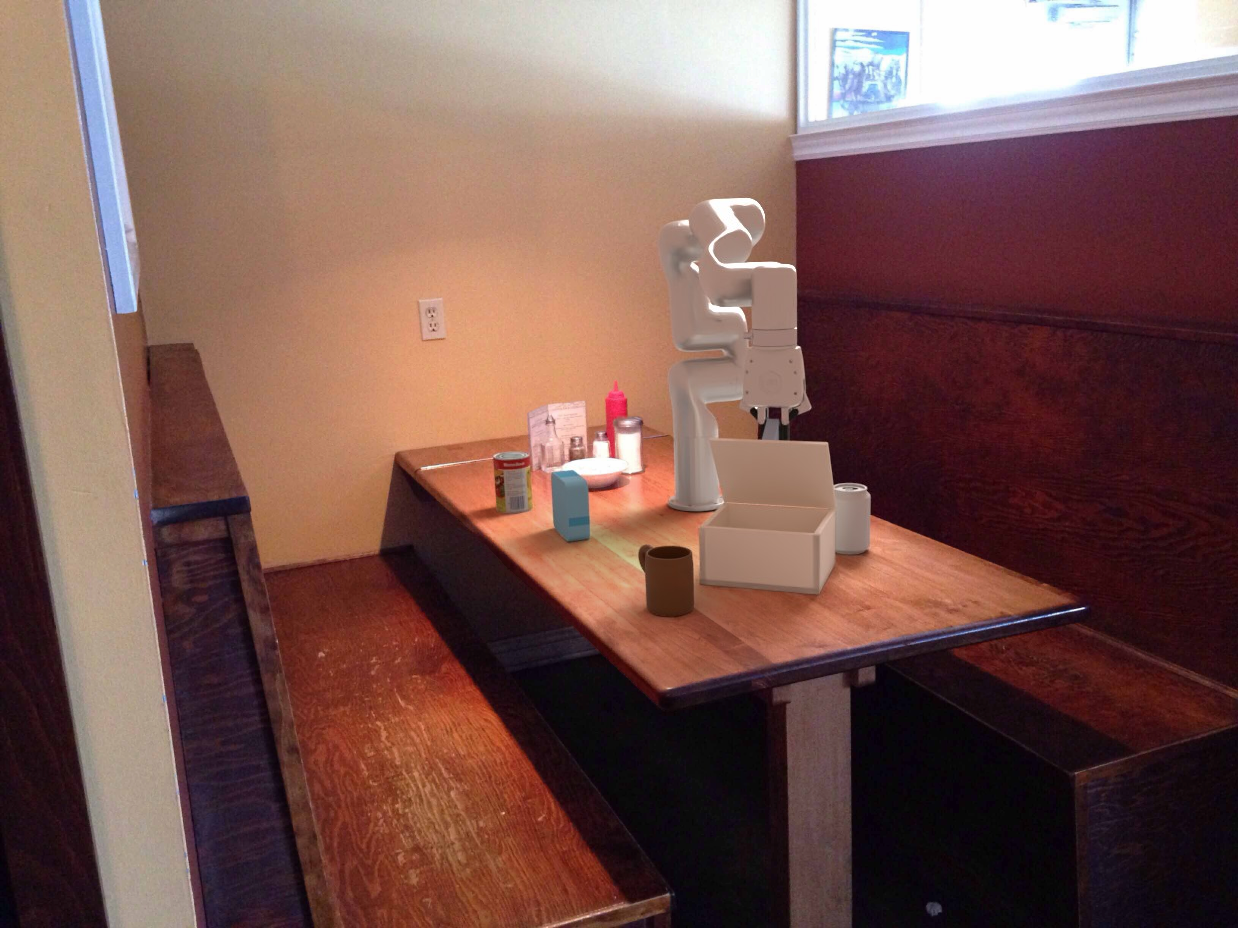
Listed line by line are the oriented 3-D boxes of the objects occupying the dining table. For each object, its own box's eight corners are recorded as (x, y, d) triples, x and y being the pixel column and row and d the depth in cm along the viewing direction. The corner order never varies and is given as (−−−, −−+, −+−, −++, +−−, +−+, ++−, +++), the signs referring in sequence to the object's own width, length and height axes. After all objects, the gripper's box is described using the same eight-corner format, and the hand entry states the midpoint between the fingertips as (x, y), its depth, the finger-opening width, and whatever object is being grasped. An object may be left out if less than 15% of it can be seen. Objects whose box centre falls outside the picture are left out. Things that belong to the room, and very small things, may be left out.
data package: (590, 541, 203) (588, 481, 201) (568, 543, 202) (565, 483, 199) (574, 525, 214) (571, 468, 212) (553, 527, 213) (550, 470, 210)
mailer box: (724, 555, 191) (723, 502, 189) (835, 564, 184) (835, 509, 182) (699, 584, 177) (698, 527, 174) (818, 594, 169) (819, 535, 167)
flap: (724, 502, 189) (730, 479, 192) (835, 508, 182) (840, 484, 185) (709, 440, 178) (716, 417, 181) (827, 444, 171) (832, 420, 174)
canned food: (525, 502, 234) (522, 449, 231) (537, 509, 227) (534, 455, 224) (491, 507, 231) (488, 454, 228) (503, 515, 224) (500, 460, 221)
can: (871, 544, 194) (872, 482, 191) (867, 557, 187) (868, 492, 185) (831, 542, 197) (831, 480, 194) (825, 554, 190) (825, 490, 187)
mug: (622, 599, 171) (620, 544, 169) (661, 589, 175) (659, 535, 172) (664, 621, 161) (662, 563, 159) (704, 610, 165) (702, 553, 162)
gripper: (722, 341, 176) (724, 448, 180) (817, 341, 170) (817, 452, 174) (734, 336, 182) (735, 440, 186) (825, 336, 177) (825, 443, 181)
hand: (775, 445), depth 180 cm, fingers closed on flap, 2 cm apart
